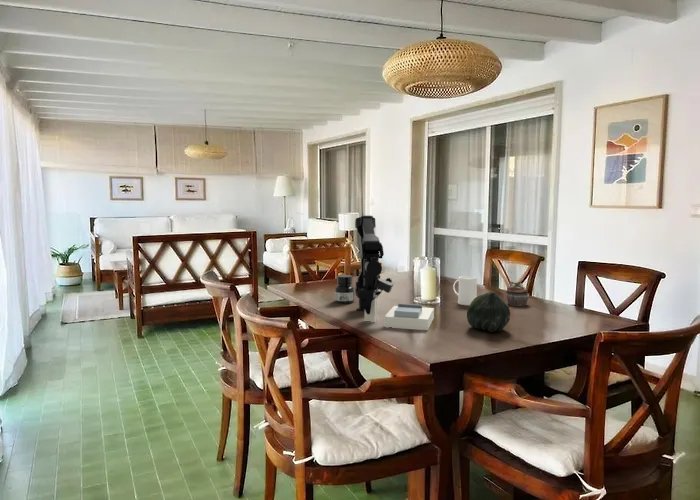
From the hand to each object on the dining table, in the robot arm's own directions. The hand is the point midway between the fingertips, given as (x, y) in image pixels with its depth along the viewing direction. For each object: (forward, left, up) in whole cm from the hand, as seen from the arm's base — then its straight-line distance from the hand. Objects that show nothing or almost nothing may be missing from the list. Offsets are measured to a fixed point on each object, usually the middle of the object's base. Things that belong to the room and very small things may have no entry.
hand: (370, 312), depth 193 cm
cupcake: (-48, +56, -4) cm, 74 cm away
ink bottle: (-31, -20, -4) cm, 37 cm away
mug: (-44, +33, -4) cm, 55 cm away
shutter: (+2, +15, +1) cm, 15 cm away
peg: (0, 0, -4) cm, 4 cm away
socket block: (-2, +15, -4) cm, 16 cm away
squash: (0, +44, -4) cm, 44 cm away
